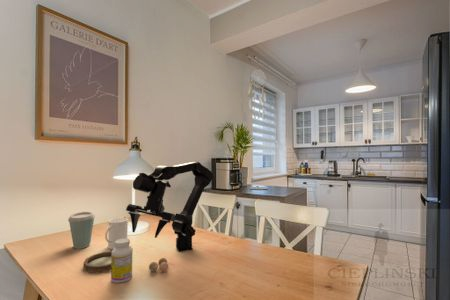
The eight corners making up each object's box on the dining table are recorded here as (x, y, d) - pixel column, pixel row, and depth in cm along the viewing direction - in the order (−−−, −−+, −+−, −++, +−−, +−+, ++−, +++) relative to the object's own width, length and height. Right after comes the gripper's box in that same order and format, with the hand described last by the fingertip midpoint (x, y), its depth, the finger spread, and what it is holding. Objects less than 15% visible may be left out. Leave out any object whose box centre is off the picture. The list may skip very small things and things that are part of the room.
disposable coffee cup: (92, 248, 107) (93, 215, 107) (64, 252, 103) (65, 217, 103) (95, 241, 117) (96, 210, 117) (70, 243, 113) (71, 212, 113)
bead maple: (157, 268, 88) (157, 259, 88) (158, 272, 85) (158, 263, 85) (148, 269, 87) (148, 261, 87) (148, 273, 84) (149, 264, 84)
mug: (111, 253, 102) (111, 225, 102) (97, 250, 105) (97, 223, 106) (131, 244, 113) (132, 218, 113) (118, 241, 116) (118, 217, 117)
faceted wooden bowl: (125, 254, 100) (125, 249, 101) (123, 269, 87) (123, 263, 87) (88, 259, 96) (88, 253, 96) (79, 275, 83) (79, 269, 83)
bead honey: (166, 264, 92) (166, 256, 92) (167, 267, 89) (167, 259, 89) (158, 265, 91) (158, 257, 91) (158, 269, 88) (158, 260, 88)
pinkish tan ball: (167, 268, 88) (167, 260, 88) (168, 272, 85) (168, 263, 85) (158, 270, 87) (158, 261, 87) (159, 274, 84) (159, 265, 84)
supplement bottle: (115, 274, 84) (116, 237, 84) (134, 273, 84) (135, 237, 85) (107, 284, 77) (108, 244, 78) (128, 283, 78) (129, 243, 78)
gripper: (182, 202, 103) (172, 239, 99) (142, 193, 105) (131, 229, 101) (176, 199, 93) (164, 240, 88) (132, 189, 95) (118, 229, 90)
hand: (144, 235), depth 92 cm, fingers open, 9 cm apart
